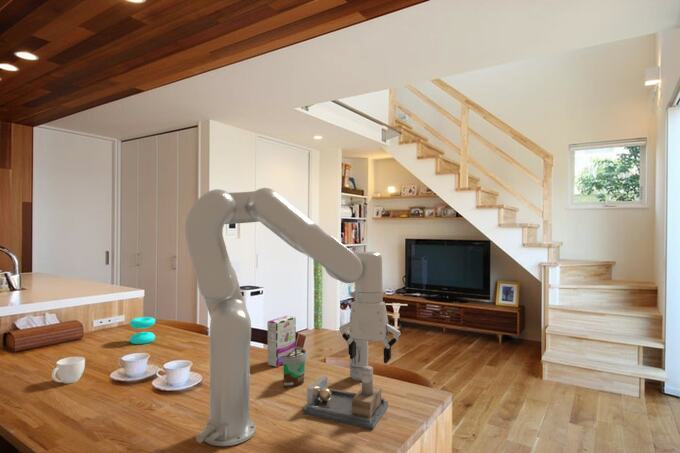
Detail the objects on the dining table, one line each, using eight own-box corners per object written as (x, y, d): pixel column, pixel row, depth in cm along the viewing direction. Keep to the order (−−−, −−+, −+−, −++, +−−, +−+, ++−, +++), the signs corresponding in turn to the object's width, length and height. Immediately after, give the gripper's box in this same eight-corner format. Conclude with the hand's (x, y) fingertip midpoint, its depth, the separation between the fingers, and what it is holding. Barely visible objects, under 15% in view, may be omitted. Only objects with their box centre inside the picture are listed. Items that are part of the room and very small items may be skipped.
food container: (301, 391, 125) (301, 359, 125) (282, 389, 126) (282, 357, 126) (311, 376, 137) (312, 347, 137) (294, 375, 138) (294, 346, 138)
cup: (90, 378, 133) (90, 358, 133) (61, 390, 124) (61, 368, 124) (73, 375, 135) (73, 355, 135) (43, 386, 126) (43, 365, 126)
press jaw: (370, 418, 104) (370, 375, 104) (352, 414, 106) (352, 372, 106) (381, 402, 113) (381, 363, 113) (364, 399, 115) (364, 361, 115)
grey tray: (373, 429, 101) (373, 403, 101) (302, 414, 109) (303, 390, 109) (388, 406, 114) (388, 384, 114) (324, 394, 122) (324, 373, 122)
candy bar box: (286, 357, 157) (286, 315, 157) (296, 359, 154) (296, 316, 154) (266, 365, 147) (266, 320, 147) (276, 367, 145) (277, 322, 145)
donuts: (137, 316, 180) (159, 316, 180) (137, 338, 180) (159, 338, 180) (125, 321, 170) (148, 321, 170) (125, 344, 170) (148, 345, 170)
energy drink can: (346, 379, 135) (347, 334, 134) (354, 373, 140) (355, 330, 140) (363, 382, 132) (363, 337, 132) (370, 376, 137) (371, 332, 137)
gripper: (334, 297, 109) (335, 360, 109) (396, 301, 103) (397, 368, 103) (344, 293, 116) (345, 352, 116) (403, 296, 110) (403, 359, 110)
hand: (369, 359), depth 110 cm, fingers open, 9 cm apart
